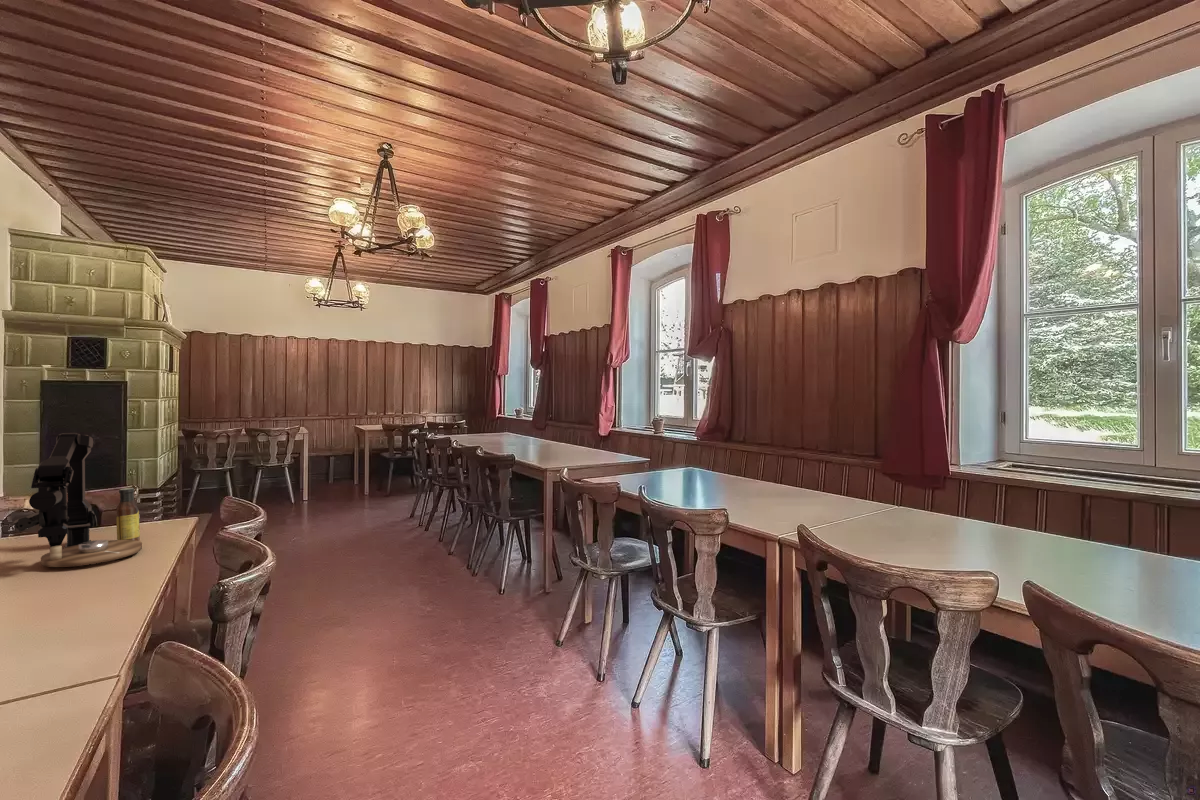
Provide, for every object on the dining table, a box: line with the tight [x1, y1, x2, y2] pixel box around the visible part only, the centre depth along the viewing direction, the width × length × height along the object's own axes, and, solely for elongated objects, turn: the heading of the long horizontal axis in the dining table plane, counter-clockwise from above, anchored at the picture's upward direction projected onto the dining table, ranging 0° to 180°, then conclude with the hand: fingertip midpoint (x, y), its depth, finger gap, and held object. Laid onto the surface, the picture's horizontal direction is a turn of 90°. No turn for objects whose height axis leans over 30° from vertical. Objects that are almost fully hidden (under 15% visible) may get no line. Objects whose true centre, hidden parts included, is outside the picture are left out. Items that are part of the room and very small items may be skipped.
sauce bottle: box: [115, 487, 141, 541], centre depth 191 cm, size 7×6×20 cm
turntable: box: [40, 539, 143, 568], centre depth 172 cm, size 24×24×6 cm
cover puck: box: [79, 539, 109, 554], centre depth 172 cm, size 7×7×2 cm
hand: (54, 552), depth 164 cm, fingers closed
